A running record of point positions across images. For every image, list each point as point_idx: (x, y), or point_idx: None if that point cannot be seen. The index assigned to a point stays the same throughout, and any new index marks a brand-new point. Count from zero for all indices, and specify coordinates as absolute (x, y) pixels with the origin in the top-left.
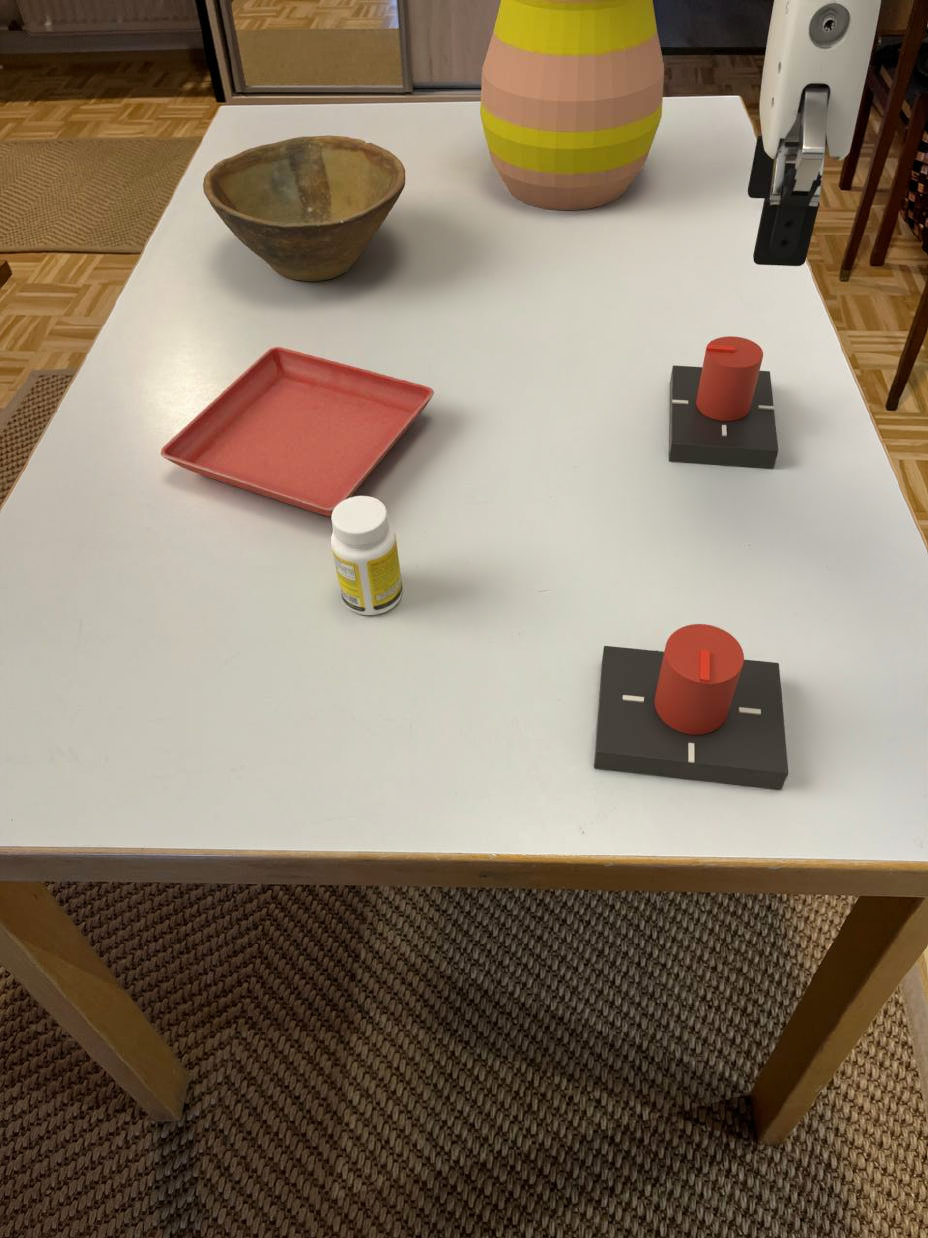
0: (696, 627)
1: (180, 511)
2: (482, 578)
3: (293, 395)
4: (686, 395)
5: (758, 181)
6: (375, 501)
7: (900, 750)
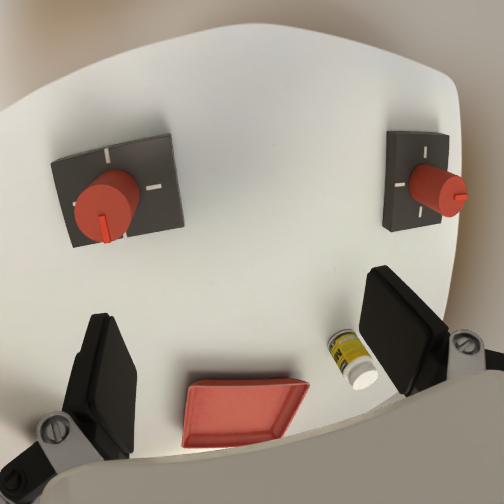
0: (440, 202)
1: (293, 418)
2: (327, 301)
3: (202, 426)
4: None
5: (131, 386)
6: (357, 379)
7: (415, 69)
